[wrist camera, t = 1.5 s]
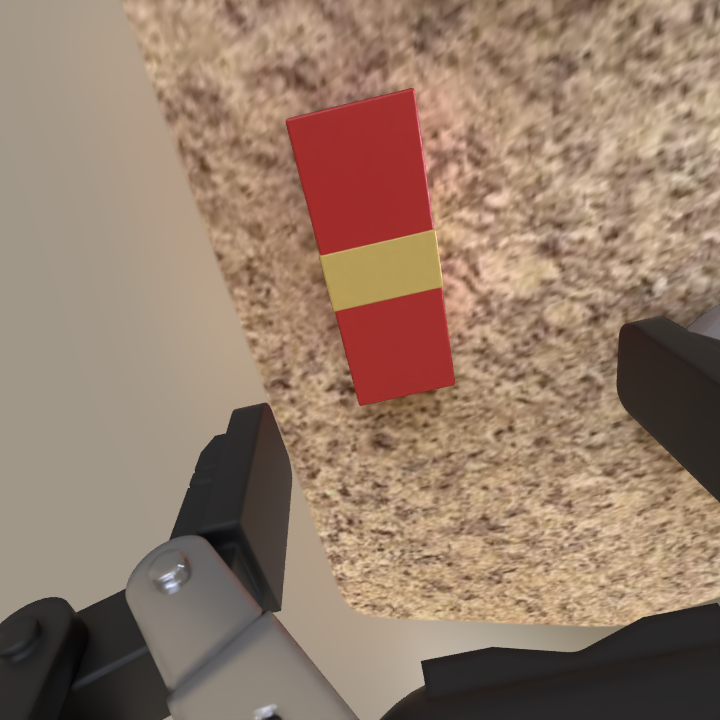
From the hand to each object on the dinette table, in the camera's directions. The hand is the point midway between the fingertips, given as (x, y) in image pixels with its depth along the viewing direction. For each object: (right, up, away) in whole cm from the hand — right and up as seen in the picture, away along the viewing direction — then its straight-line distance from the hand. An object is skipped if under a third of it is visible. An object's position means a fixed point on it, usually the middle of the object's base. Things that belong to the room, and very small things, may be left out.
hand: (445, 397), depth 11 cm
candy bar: (-1, +6, +11) cm, 13 cm away
